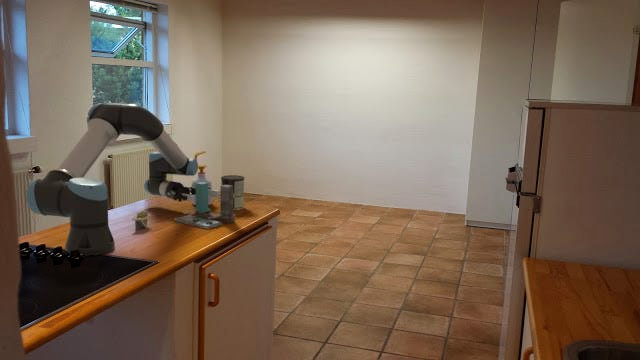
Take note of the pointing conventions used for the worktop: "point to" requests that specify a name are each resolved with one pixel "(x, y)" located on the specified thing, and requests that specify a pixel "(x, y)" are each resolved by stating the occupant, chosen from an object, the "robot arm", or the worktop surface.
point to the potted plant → (141, 219)
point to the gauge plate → (198, 222)
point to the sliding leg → (201, 198)
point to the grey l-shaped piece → (222, 207)
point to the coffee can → (235, 189)
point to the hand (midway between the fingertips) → (206, 196)
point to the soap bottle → (201, 179)
